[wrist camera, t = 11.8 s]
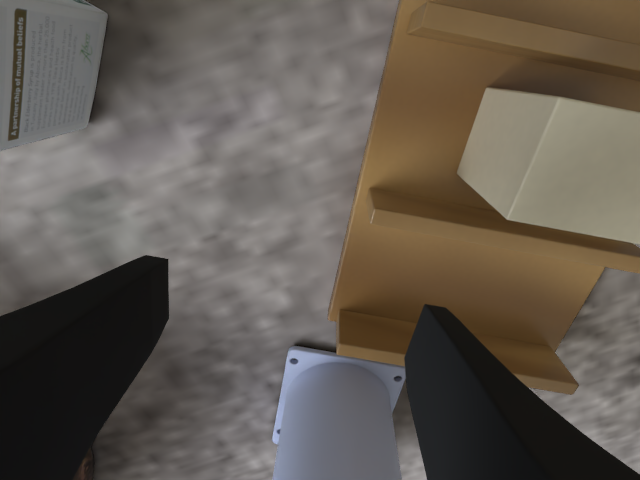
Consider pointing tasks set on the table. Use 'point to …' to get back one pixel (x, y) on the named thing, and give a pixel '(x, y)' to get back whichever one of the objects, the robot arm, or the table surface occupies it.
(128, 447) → the table surface
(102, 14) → the syrup box
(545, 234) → the dish rack
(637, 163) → the block
